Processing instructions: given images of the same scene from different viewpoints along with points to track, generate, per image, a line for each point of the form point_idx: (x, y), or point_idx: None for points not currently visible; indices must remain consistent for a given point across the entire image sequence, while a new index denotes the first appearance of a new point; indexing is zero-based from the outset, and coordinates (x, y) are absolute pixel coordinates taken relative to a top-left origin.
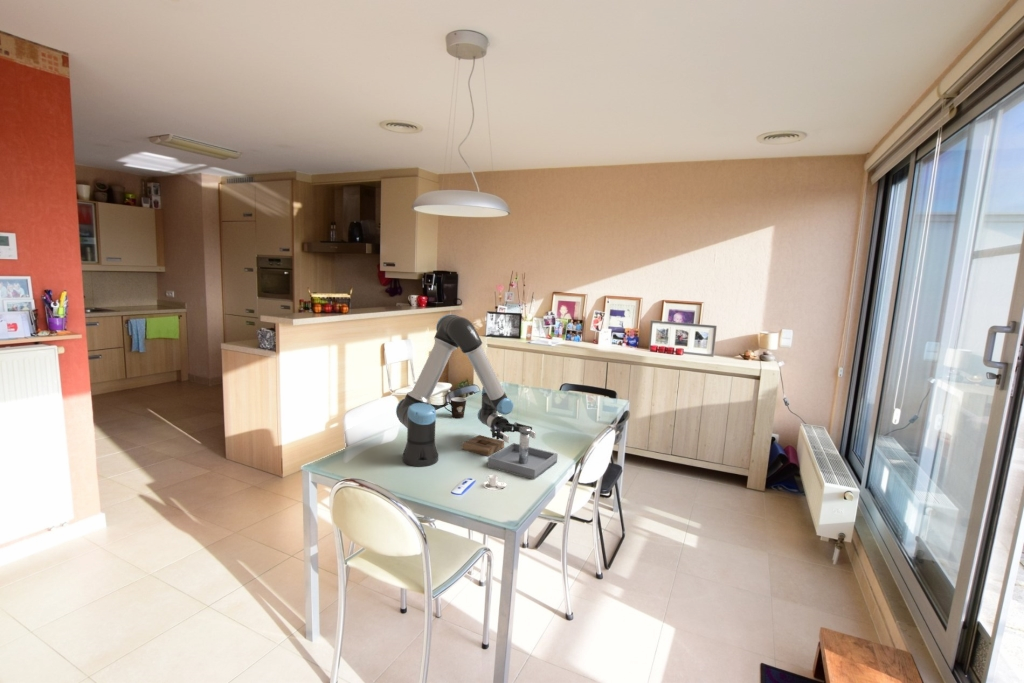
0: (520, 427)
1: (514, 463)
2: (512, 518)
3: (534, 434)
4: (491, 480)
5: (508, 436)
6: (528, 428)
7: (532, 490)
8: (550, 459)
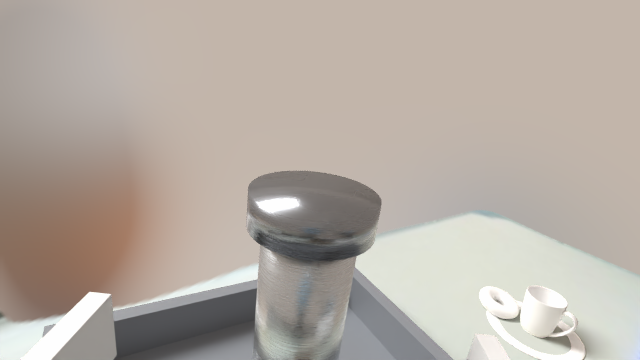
0: (347, 216)
1: (416, 338)
2: (481, 218)
3: (109, 312)
4: (551, 301)
5: (479, 334)
6: (282, 183)
7: (389, 257)
8: (175, 301)
